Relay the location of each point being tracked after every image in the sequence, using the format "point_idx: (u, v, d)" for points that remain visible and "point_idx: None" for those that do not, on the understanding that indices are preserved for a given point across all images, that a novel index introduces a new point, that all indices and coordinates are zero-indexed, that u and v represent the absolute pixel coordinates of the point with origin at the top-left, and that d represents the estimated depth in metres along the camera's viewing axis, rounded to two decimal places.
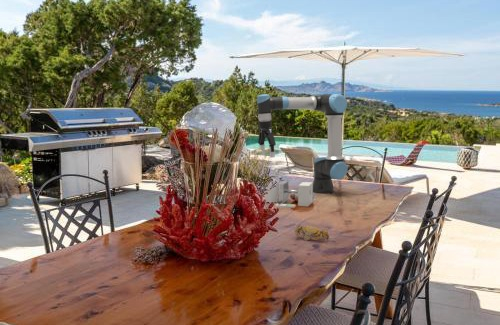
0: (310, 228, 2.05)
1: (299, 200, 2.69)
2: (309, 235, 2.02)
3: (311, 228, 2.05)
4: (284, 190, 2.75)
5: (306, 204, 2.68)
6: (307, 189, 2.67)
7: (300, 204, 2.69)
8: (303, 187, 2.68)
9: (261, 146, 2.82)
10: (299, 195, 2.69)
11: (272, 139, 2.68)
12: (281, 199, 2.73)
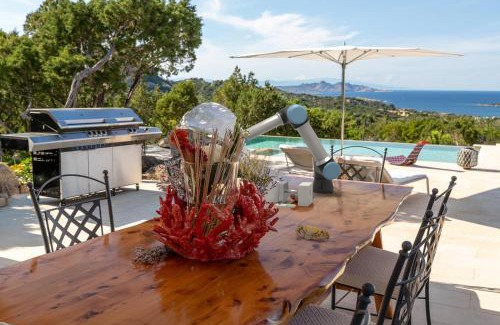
0: (311, 228, 2.06)
1: (299, 200, 2.69)
2: (310, 235, 2.03)
3: (312, 228, 2.06)
4: (284, 190, 2.75)
5: (306, 204, 2.68)
6: (307, 189, 2.67)
7: (300, 204, 2.69)
8: (303, 187, 2.68)
9: None
10: (299, 195, 2.69)
11: None
12: (281, 199, 2.73)
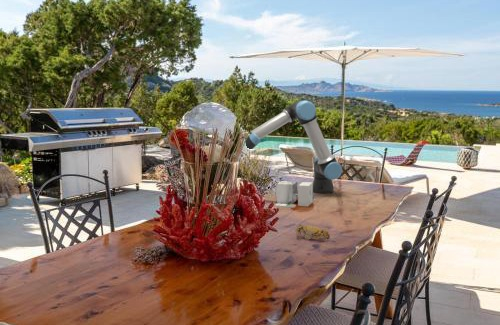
0: (311, 227, 2.06)
1: (299, 200, 2.69)
2: (310, 234, 2.03)
3: (312, 227, 2.06)
4: (293, 191, 2.73)
5: (306, 204, 2.68)
6: (307, 189, 2.67)
7: (300, 204, 2.69)
8: (303, 187, 2.68)
9: None
10: (299, 195, 2.69)
11: None
12: (290, 200, 2.71)
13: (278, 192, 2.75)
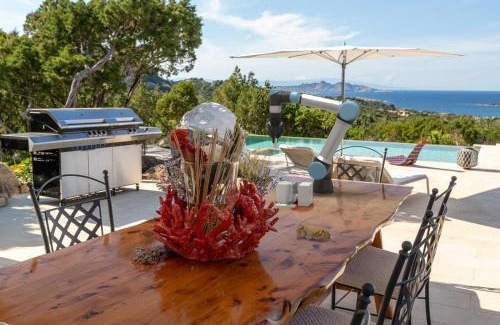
0: (311, 227, 2.06)
1: (299, 200, 2.69)
2: (311, 234, 2.03)
3: (312, 227, 2.06)
4: (293, 191, 2.73)
5: (306, 204, 2.68)
6: (307, 189, 2.67)
7: (300, 204, 2.69)
8: (303, 187, 2.68)
9: None
10: (299, 195, 2.69)
11: (269, 132, 3.04)
12: (290, 200, 2.71)
13: (278, 192, 2.75)
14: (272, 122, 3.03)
